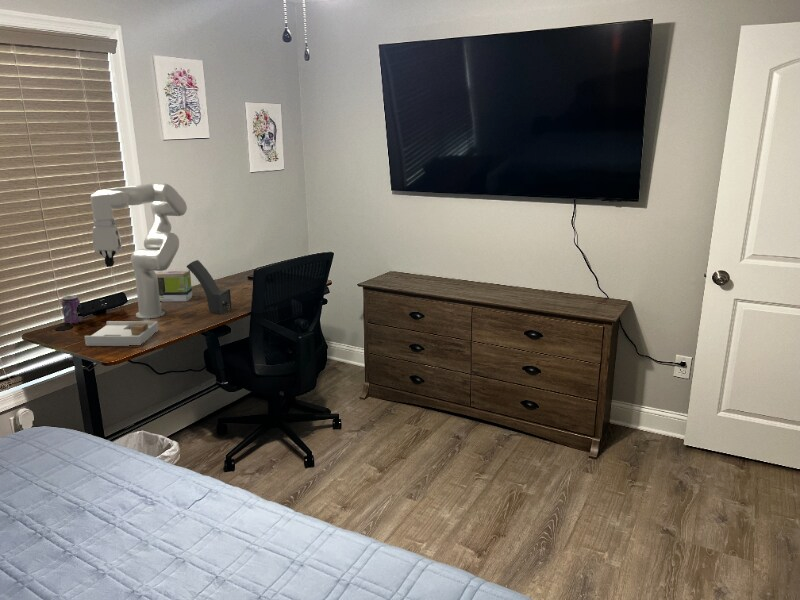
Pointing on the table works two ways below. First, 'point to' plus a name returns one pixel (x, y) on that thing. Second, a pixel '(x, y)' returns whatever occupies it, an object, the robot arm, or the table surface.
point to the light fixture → (211, 289)
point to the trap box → (120, 334)
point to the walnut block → (138, 328)
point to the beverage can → (71, 309)
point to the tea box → (174, 285)
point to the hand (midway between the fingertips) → (110, 266)
